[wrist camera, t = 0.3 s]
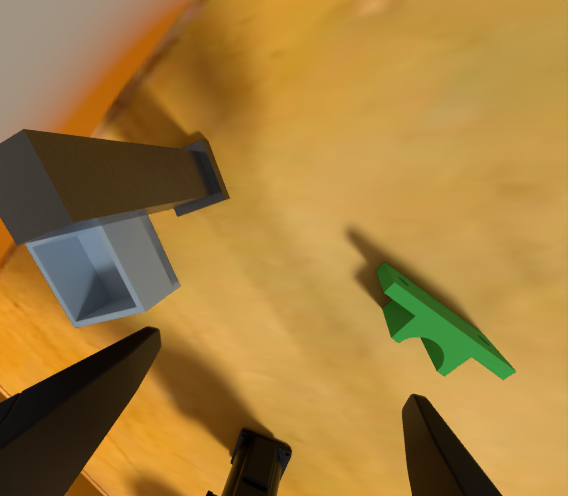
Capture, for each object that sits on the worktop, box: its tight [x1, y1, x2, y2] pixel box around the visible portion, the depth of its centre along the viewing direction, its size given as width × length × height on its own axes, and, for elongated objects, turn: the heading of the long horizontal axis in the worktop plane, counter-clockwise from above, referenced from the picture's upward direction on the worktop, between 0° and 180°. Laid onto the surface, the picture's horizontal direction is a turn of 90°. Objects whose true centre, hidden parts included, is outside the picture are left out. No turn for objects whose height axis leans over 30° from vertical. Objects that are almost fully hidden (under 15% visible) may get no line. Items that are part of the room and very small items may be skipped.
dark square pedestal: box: [0, 129, 230, 245], centre depth 16 cm, size 5×5×13 cm
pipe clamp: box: [376, 262, 516, 380], centre depth 20 cm, size 10×4×4 cm, turn 56°
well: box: [25, 215, 180, 328], centre depth 24 cm, size 9×9×5 cm
